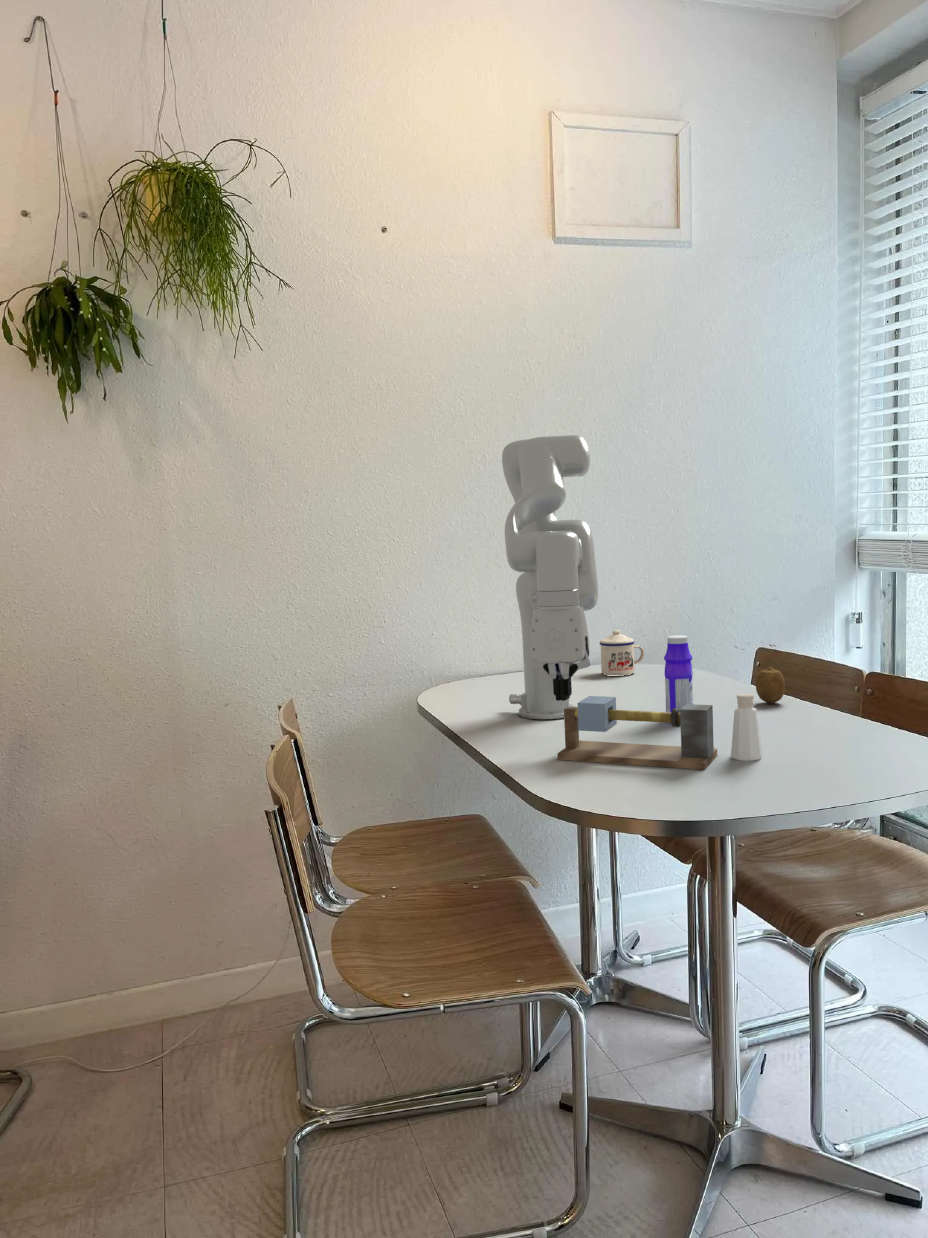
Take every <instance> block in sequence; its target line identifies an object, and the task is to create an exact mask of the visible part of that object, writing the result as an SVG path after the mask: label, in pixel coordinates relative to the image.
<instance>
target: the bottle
mask: <svg viewBox="0 0 928 1238" xmlns="http://www.w3.org/2000/svg"><path fill="white" fill-rule="evenodd" d="M666 638H667V641H666V642H667V643H666V644H667V645H666V646H667V648H666V652H665V655H664V657H663V660H664V661H665V665H664V677H665V678H664V679H665V680H664V685H665V688H664V689H665V691H664V692H665V712H672V709H673V708H677V709H681V708H682V707H683V706H685V705H686V704H694V693H693V675H694V674H693V673H694V671H693V665H692V662H691V661H692V660H693V656H692V654H691V652H690V650H689V641H688V640H689V639H688V636H687V635H683V634H678V635H677V634H675V635H669V636H667V637H666Z"/></svg>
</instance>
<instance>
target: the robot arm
mask: <svg viewBox="0 0 928 1238" xmlns="http://www.w3.org/2000/svg"><path fill="white" fill-rule="evenodd" d="M590 456H591V454H590V448H589V446H588V444H587V441H586V440H585V439H584V438H583V436H581V435H574V434H573V435H572V434H571V435H553V436H552V435H551V436H538V437H536V436H535V437H533V438H528V439H520V440H515V441H512V442H510V443H508V444H506V445H505V446H504V448H503V450H502V453H501V464H502V471H503V475H504V479H505V481H506V484H507V487H508V489H509V491H510V495H511V496H512V498H513V501H514V504H513V505H512V507H511V508H510V510H509V511H508V514H507V516H506V519H505V524H504V542H505V543H504V544H505V553H506V559H507V563H508V565H509V568H511V569H512V570H513V571H515V572H516V573H521V574H519V576H518V577H517V579H516V582H515V594H516V599H517V604H518V610H519V614H520V623H521V636H522V637H521V638H522V656H523V657H522V658H523V679H524V680H523V681H524V693H521V694H517V693H514V694H513V693H512V694H509V697H508V702H509V704H512V705H520V706H521V707H520V708H519V709H518V715H519V716H520V717H521V718H526V719H530V720H531V719H532V720H556V719H564V708H566V707H576V706H575V705H573V704H570V698H571V696H572V693H573V691H572V689H573V688H572V677H574V675H575V674H576V673H577V672H578V670H583V669H587V668H589V667H590V666H591V661H590V659H589V656H590V639H589V632H588V630H589V629H588V624H587V620H586V615H585V614H586V613H585V611H586V612H587V611H590V610H592V609H594V608H595V607H596V606H597V604H598V600H599V586H598V585H599V584H598V574H597V565H596V556H595V555H596V554H595V545H594V539H593V534H592V530H591V527H590V525H589V524H588V523H587V522H586V521H585V520H581V519H564V520H563V519H562V520H559V519H557V515H556V514H557V513H556V512H557V510H559V509H560V508H561V507H562V506H563V504H564V503H565V500H566V497H567V495H566V494H567V492H566V487H565V482H564V478H570V477H571V478H573V477H584V476H586V474H587V473H588V471H589V469H590V463H591V457H590Z"/></svg>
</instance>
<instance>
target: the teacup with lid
mask: <svg viewBox="0 0 928 1238" xmlns="http://www.w3.org/2000/svg"><path fill="white" fill-rule="evenodd" d="M599 645H600V665H601V666H600V669H601V674H602V673H603V674H605V675H629V674H632V673H634V674H635V665H637V664H640V663H641V662H642V661H643V660H644V656H645V649H644V647H642V646H641V645H638V644H637V645H636V644H635V640H634V639H633V638H631V637H628V636H627V635H625V634H622V633H621V630H619V629H618V630H617V629H615V630H613V631H612V633H611V634H609V635H608V636H607V637H605V638H602V639H600V641H599ZM634 649H639V650H640V656H639V658H638V659H637V660H635V652H634V651H635V650H634Z"/></svg>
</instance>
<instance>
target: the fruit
mask: <svg viewBox="0 0 928 1238" xmlns="http://www.w3.org/2000/svg"><path fill="white" fill-rule="evenodd" d="M782 673H783V672H781V671H780V670H778V669H774V668H773V667H772V666H769V667H767V668H766V669H762V670H761V671H759V673H758V674H757V677H756V680H755V690H756V693H757V696H758V697H759V699H760V700H761V701H763V702H764V703H767V704H769V705H773V704H775V703H777V702H779V701H780V700H782V698H783V697H784V694H785V691H786V681H785V678H784V677H785V676H784V675H783V674H782Z"/></svg>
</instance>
